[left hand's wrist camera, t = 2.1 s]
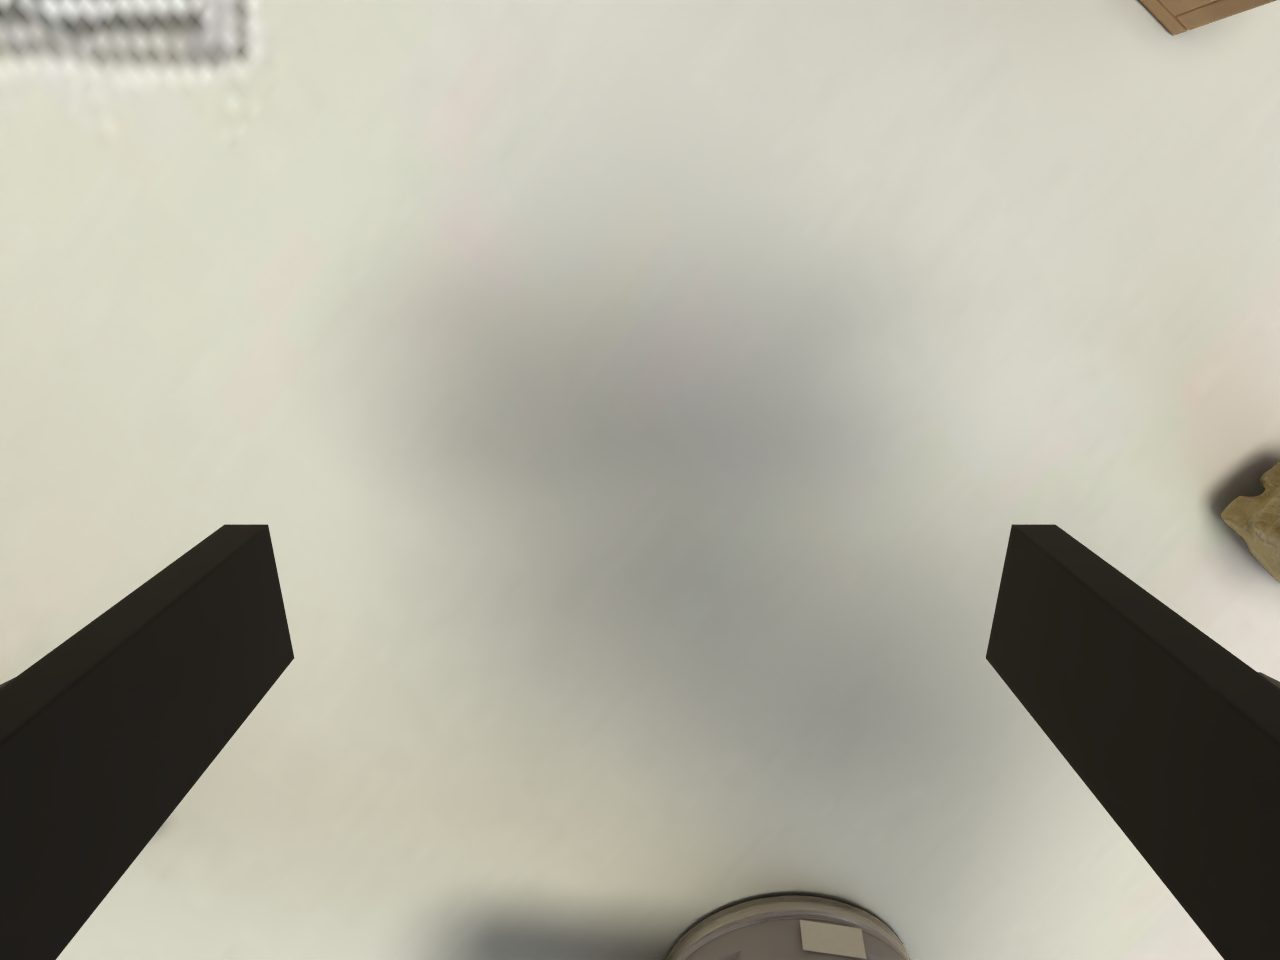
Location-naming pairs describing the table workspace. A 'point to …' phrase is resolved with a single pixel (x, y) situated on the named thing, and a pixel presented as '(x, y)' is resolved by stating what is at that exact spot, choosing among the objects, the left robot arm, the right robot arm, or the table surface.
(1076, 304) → the table surface
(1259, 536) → the sculpture
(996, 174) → the table surface
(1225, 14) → the chest
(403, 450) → the table surface
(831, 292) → the table surface
